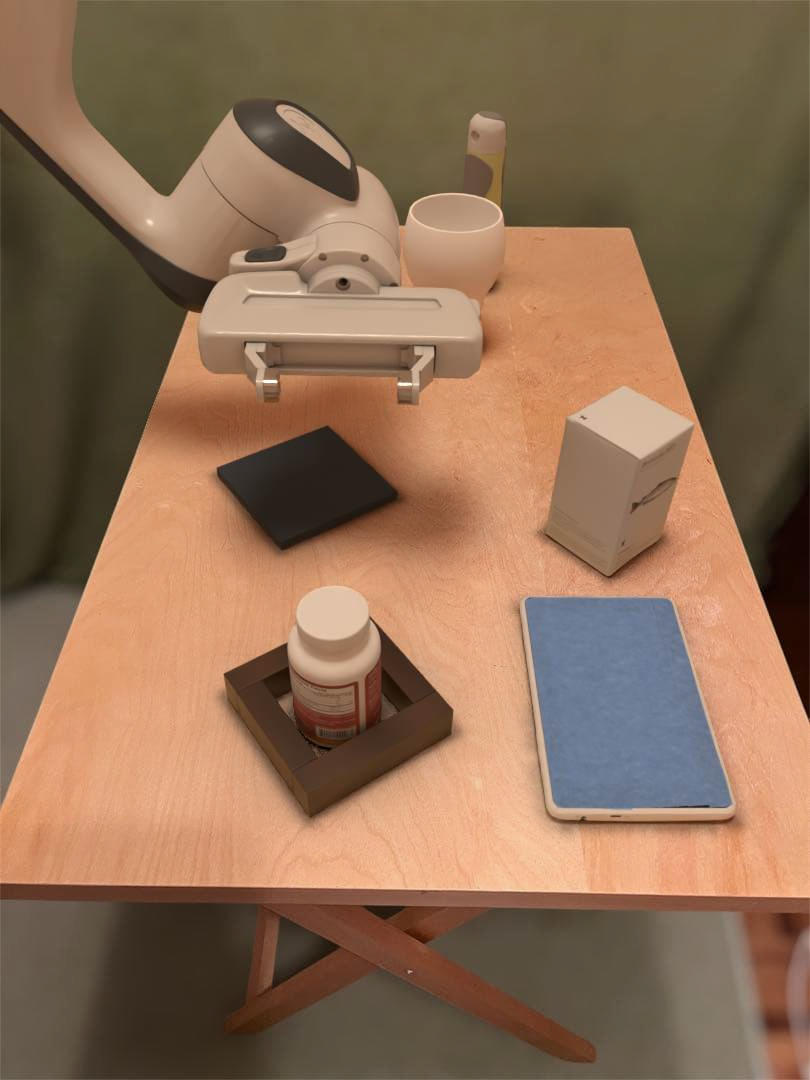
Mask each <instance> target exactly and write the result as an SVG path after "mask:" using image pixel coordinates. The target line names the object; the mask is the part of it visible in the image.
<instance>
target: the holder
mask: <svg viewBox="0 0 810 1080" xmlns="http://www.w3.org/2000/svg"><path fill="white" fill-rule="evenodd" d="M370 620H371V621H372V622H373V623H374V625H375V626H376V628H377V630H378V632H379V636H380V641H381V692H382V693H383V694H384V695H385V696H386V697H387V699H388V700H389V701H390V702H391V703H392V705H393V706H394V707H395V708H396V709H397V711H398V712H396V713H394V714H392V715H391V716H389V717H387V718H386V719H384V720H381V721H380V722H378V724H376V725H375V726H373V727H371V728H369V729H367V730H366V731H364V732H362V733H360V734H359V735H357V736H355V737H353V738H351V739H350V740H348V741H346V742H344V743H343V744H341V745H339V746H337V747H335V748H331V749H330V750H328V751H327V752H325V753H323V754H321V755H320V756H318V755H317V754H316V752H315V751H314V750H313V748H312V747H311V745H310V744H309V743H308V741H307V740H306V738H305V736H304V735H303V733H302V732H301V731H300V729H299V728H298V727H297V726H296V725H295V723H294V722H293V721H292V719H291V718H290V716H289V715H288V714H287V712H286V710H284V708H283V707H282V706H281V704H280V703H279V702H278V700H277V699H276V698H278V697H281V696H282V695H284V694H287V693H288V692H290V691H292V687H291V678H290V670H289V661H288V649H287V645H288V641H286V642H285V643H283V644H281V645H279V646H276V647H274V648H272V649H271V650H269V651H267V652H265V653H263V654H261V655H258V656H256V657H254V658H253V659H250V660H248V661H246V662H245V663H242V664H241V665H238V666H236V667H234V668H233V669H230V670H228V671H226V672H224V673H223V679H224V685H225V690H226V695H227V699H228V700H229V702H230V703H231V705H232V706H233V708H234V709H235V711H236V712H237V714H238V715H239V716H240V718H241V719H242V720H243V723H245V725H246V727H247V728H248V729H249V732H251V734H252V735H253V737H254V738H255V740H256V741H257V743H258V745H259V746H260V747H261V749H262V750H263V751H264V753H265V755H266V756H267V757H268V759H269V761H270V762H271V763H272V764H273V766H274V768H275V769H276V770H277V772H278V774H279V776H281V778H282V780H284V783H285V784H286V785H287V786H288V788H289V789H290V791H291V792H292V794H293V795H294V797H295V798H296V800H297V801H298V803H299V804H300V806H301V808H302V809H303V810H304V811H305V814H307V816H308V817H309V818H311V817H312V816H314V815H316V814H318V813H319V812H321V811H323V810H325V809H326V808H328V807H329V806H331V805H333V804H335V803H336V802H337V801H340V800H341V799H343V798H344V797H346V796H348V795H350V794H351V793H353V792H355V791H356V790H358V789H360V788H361V787H363V786H365V785H367V784H369V783H370V782H371V781H373V780H375V779H377V778H379V777H380V776H382V775H383V774H385V773H387V772H389V771H390V770H392V769H393V768H395V767H397V766H398V765H400V764H402V763H404V762H405V761H408V760H409V759H411V758H412V757H414V756H416V755H417V754H419V753H421V752H423V751H425V750H426V749H427V748H429V747H430V746H432V745H434V744H435V743H438V742H440V741H441V740H443V739H445V738H446V737H447V736H449V735H451V734H452V731H453V719H454V708H453V707H452V706H451V705H450V703H448V702H447V700H446V699H445V698H444V697H443V696H442V695H441V694H440V693H439V691H437V690H436V688H435V687H434V686H433V685H432V684H431V683H430V681H429V680H428V679H427V678H426V677H425V676H424V674H422V673H421V671H420V670H419V669H418V668H417V667H416V665H414V664H413V662H412V661H411V659H409V658H408V657H407V656H406V654H404V652H403V651H402V650H401V649H400V647H398V646H397V645H396V643H395V642H394V641H393V640H392V639H391V638H390V637H389V635H388V634H387V633H386V632H385V631H384V630H383V629H382V627H381V626H380V625H379V624H378V623H377V622H376V621H375V620H374V618H373V617H372V616H371V615H370Z"/></svg>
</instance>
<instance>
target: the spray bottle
mask: <svg viewBox="0 0 810 1080" xmlns="http://www.w3.org/2000/svg"><path fill="white" fill-rule="evenodd" d="M507 136H508V135H507V122H506V120H505V118H504V117H503V116H502V115H501V114H500V113H497V112H495V111H491V110H482V111H481V110H480V111H478V113H476V114H475V115H473V116H472V118H471V120H470V121H469V124H468V136H467V137H468V138H467V145H466V147H467V148H466V149H467V150H466V154H465V159H464V173H463V183H462V184H463V185H462V194H469V195H475V196H478V197H482V198H485V199H487V200H489V201H491V202H493V203H495V204H496V205H497V206H498V207H499V208H500V209H501V210H502V203H503V193H504V181H505V168H506V154H507V146H506V144H507V143H506V142H507V138H508V137H507ZM496 281H497V279H496V280H495V282H494V284H493V285H492V287H491V288H490V289H492V288H493V287H494V286H495V284H496Z"/></svg>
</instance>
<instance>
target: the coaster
mask: <svg viewBox="0 0 810 1080" xmlns="http://www.w3.org/2000/svg"><path fill="white" fill-rule="evenodd" d="M216 475H217V477H218V478H219V479H220V481H222V483H223V484H224V485H225V486H226V488H228V490H229V491H230V492H231V493H232V494H233V495H234V497H235V498H236V499H237V500H238V501H239V502H240V504H242V506H243V507H244V508H245V509H246V511H247V513H249V514H250V515H251V517H252V518H253V519H254V520H255V521H256V522H257V524H259V525H260V527H261V528H262V529H263V530H264V531H265V533H266V534H267V535H268V536H269V538H271V540H272V541H273V542H274V544H276V545H277V547H278V548H279V549H280V550H281V551H285V550H286V549H287V548H290V547H292V546H295V545H297V544H299V543H302V542H304V541H306V540H308V539H311V538H313V537H316V536H317V535H320V534H323V533H325V532H327V531H329V530H331V529H333V528H336V527H338V526H341V525H342V524H345V523H347V522H349V521H353V520H354V519H356V518H359V517H361V516H363V515H365V514H367V513H370V512H372V511H374V510H376V509H379V508H381V507H384V506H386V505H388V504H391V503H393V502H395V501H397V500H398V498H399V497H398V495H399V493H398V490H397V489H396V488H395V487H394V486H392V484H391V483H389V481H388V480H387V479H386V478H384V477H383V476H382V475H381V474H380V473H379V472H378V471H377V470H376V469H375V468H374V467H373V466H372V465H370V464H369V463H368V462H367V461H366V459H364V458H363V457H362V456H361V455H360V454H359V453H358V452H357V450H355V449H354V448H353V447H352V446H351V445H350V444H348V442H347V441H345V439H343V438H342V436H340V435H339V434H338V433H337V432H336V431H335V429H333V428H332V427H331V426H330V425H328V424H326V425H324V426H322V427H319V428H316V429H314V430H310V431H309V432H308V431H307V432H306V433H302V434H301V435H298V436H295V437H292V438H290V439H288V440H285V441H282V442H280V443H277V444H275V445H272V446H269V447H267V448H264V449H261V450H259V451H256V452H253V453H250V454H248V455H245V456H243V457H241V458H238V459H235V460H233V461H232V460H231V461H230V462H227V463H225V464H222V465H220V466H217V467H216Z"/></svg>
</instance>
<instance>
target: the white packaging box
mask: <svg viewBox="0 0 810 1080" xmlns="http://www.w3.org/2000/svg"><path fill="white" fill-rule="evenodd" d="M695 426H696V423H695V422H694V421H692V420H690V419H688V418H686V417H685V416H683V415H682V414H679V413H677V412H675V411H674V410H672V409H670V408H668V407H667V406H664V405H662V404H661V403H659V402H657V401H655V400H653V399H651V398H650V397H647V396H645V395H643V394H641V393H640V392H638V391H636V390H635V389H633V388H631V387H629V386H627V385H625V384H624V385H621V386H619V387H617V388H616V389H613V390H612V391H611V392H608V393H606V394H605V395H603V396H602V397H600V398H598V399H597V400H594V401H592V402H591V403H590V404H588V405H585V406H584V407H583V408H581V409H579V410H577V411H576V412H574V413H572V414H571V415H568V416H567V417H566V420H565V425H564V430H563V436H562V441H561V446H560V447H561V448H560V452H559V457H558V462H557V467H556V472H555V478H554V483H553V488H552V489H553V490H552V494H551V499H550V505H549V511H548V516H547V521H546V527H545V531H544V533H545V534H546V535H547V536H549V537H550V538H551V539H553V540H554V541H555V542H556V543H558V544H559V545H561V546H563V547H564V548H565V549H566V550H568V551H570V552H571V553H573V554H574V555H575V556H576V557H578V558H579V559H581V560H583V561H584V562H585V563H587V564H588V565H589V566H591V567H593V568H594V569H595V570H597V572H600V573H601V574H603V575H604V576H606V577H610V576H612V575H613V574H614V573H615V572H616V571H617V570H619V569H620V568H621V567H623V566H624V565H626V564H627V563H628V562H630V560H632V559H633V558H634V557H636V556H637V555H639V554H641V553H642V552H643V551H645V550H646V549H647V548H649V547H650V546H652V545H653V544H655V543H657V542H658V541H659V540H661V537H662V534H663V530H664V527H665V524H666V521H667V517H668V515H669V513H670V508H671V505H672V501H673V498H674V495H675V492H676V489H677V487H678V486H677V485H678V483H679V479H680V475H681V471H682V469H683V465H684V461H685V459H686V455H687V453H688V450H689V449H688V448H689V446H690V443H691V439H692V436H693V432H694V430H695V429H694V428H695Z"/></svg>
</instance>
